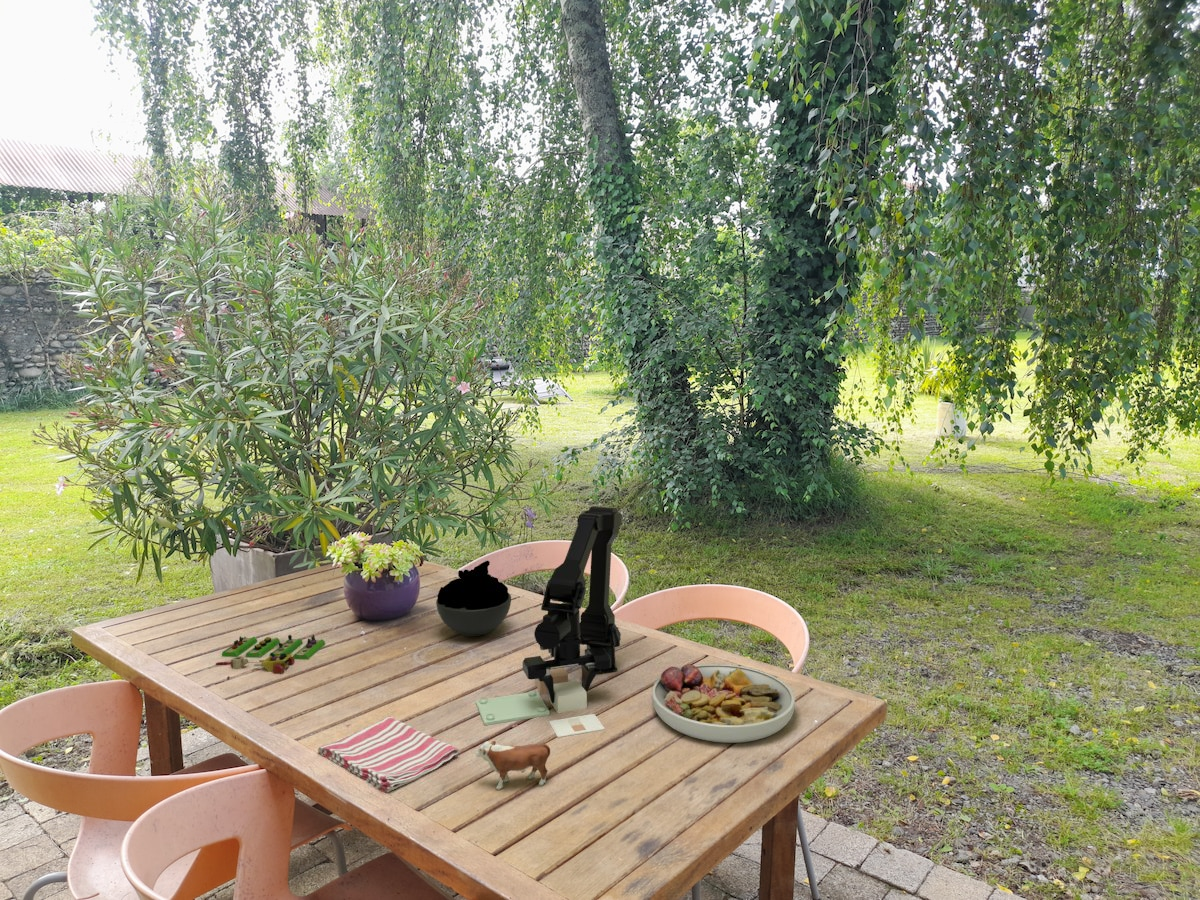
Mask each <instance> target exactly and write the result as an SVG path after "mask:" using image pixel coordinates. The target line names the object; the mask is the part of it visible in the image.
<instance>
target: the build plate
mask: <svg viewBox="0 0 1200 900" xmlns="http://www.w3.org/2000/svg"><path fill="white" fill-rule="evenodd" d="M475 705H476V707H477V710H478V712H479V715H480V717H481V720H482V722H483V725H484V726H490V725H496V724H502V723H509V722H515V721H521V720H522V721H523V720H527V719H528V720H529V719H533V718H540V717H546V716H550V715H551V714H550V713H551V712H550V710H549V708H548V707H547V705H546V703H545V702H544V700H543V698H542V697H541V694H540V693H539V690H538V691H537V690H529V691H527V692H522V693H521V692H520V693H517V694H509V695H504V696H497V697H490V698H486V697H481V698H479V699H477V700H475Z"/></svg>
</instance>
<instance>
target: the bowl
mask: <svg viewBox="0 0 1200 900" xmlns="http://www.w3.org/2000/svg"><path fill="white" fill-rule="evenodd" d="M651 699H652V704H653V708H654V710H655V711H656V713H657V715H658V717H659V718H660V719H661V720H662V721H663V722H664V723H665V724H667V725H668V726H669V727H671V729H674V730H675V731H677V732H679V733H681V734H683V735H685V736H689V737H691V738H694V739H698V740H703V741H707V742H715V743H723V744H724V743H727V744H728V743H729V744H734V743H738V744H739V743H748V742H753V741H758V740H762V739H764V738H765V739H766V738H767V737H770V736H772V735H774V734H776V733H778V732H779V731H781V730H782V729H783V728H785V726H786V725H787V724H788V723H789V722H790V721H791V719H792V716H793V714H794V711H795V707H796V706H795V705H796V703H795V702H796V698H795V694H794V691H793V690H792V689H791V688H790V686H789V685H788V684H786V683H785V682H784V681H782V680H781V679H779V678H778V677H775V676H773V675H771V674H769V673H766V672H764V671H760V670H759V669H758V670H757V669H755V668H750V667H746V666H740V665H733V664H732V665H730V664H717V663H716V664H715V663H714V664H712V663H711V664H697V665H694V664H684V665H683V666H682V667H677V666H670V667H668V668H666V669H665V670H664V671H662V673H661V675H660V677H659V678H658V679H657V680H656V681H655V682H654V684H653V685H652V690H651Z"/></svg>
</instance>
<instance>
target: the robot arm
mask: <svg viewBox="0 0 1200 900" xmlns="http://www.w3.org/2000/svg"><path fill="white" fill-rule="evenodd" d="M622 520H623V519H622V512H619V511H618V509H617V507H609V506H595V505H591V506H590V507H589V509H588V510H582V511H581V513H580V514H579V515H578V517H577V527H576V528H575V531H574V534H573V537H572V539H571V542H570V544H569V547H568V550H567V553H566V555H565V559H564V560H563V563H561V564H560V565H558V566H557V567H555V569H554V571H553V572H552V575H550V576H551V577H550V578H549V579H548V581H547V584H546V588H545V590H544V591H545V592H544V595H543V599H542V604H541V609H540V610H541V611H543V612H544V611H545V612H547V613H545V614H544V615H543V617H542V621H541V622H539V624H537V626H535V629H534V632H533V634H534V639H535V641H536V643H537V644H538V645H539V649H540V651H541V650H542V651H545V650H546V651H547V650H548V654H550V656H551V658H553V659H550V660H549V659H548V660H544V659H543V658H542V656H540V655H537V656H536V655H535V656H529V657H525V658H524V659H523V661H522V671H523V672H524V675H525V676H526V678H527V679H528V680H535V679H538V680H539V681H541V682H542V681H543V682H544V684H545V686H546V689H547V692H548V698H549V697H550V700H551V702H552V703H554V686H553V677H552V676H551V674H550V669H557V668H571V667H579V666H580V667H581V682H580V685H581V686H582V687H583V688H584V689H585V691H586V692H587V693H588V691H589V689H590V686H591V684H592V683H593V681H594V679H595V677H596V676H597V674H605V673H610V672H617V671H618V667H617V666H616V650H615V649H616V648H619V647H620V646H621V637H622V635H621V633H622V632H620V630H619V628H618V627H617V625H616V621H615V620H616V617H615V613H614V611H613V610H612V607H611V606H610V586H611V585H610V582H611V563H612V562H611V561H612V545H613V542H615V539H616V538H617V537H618V535H619V534H620V527H621V526H622ZM590 556H591V557H590ZM589 558H590V577H589V592H588V593H589V595H588V596H589V597H588V605H587V606H586V608H585V610H584V611H582V612H581V614H580V609H582V606H583V603H584V599H585V595H586V591H587V588H586V585H587V584H586V583H587V582H586V579H585V576H584V574H585V573H584V572H585V570H586V567H587V564H588V562H589ZM551 601H552V602H551ZM581 646H586V649H584V655H583V654H582V655H581Z"/></svg>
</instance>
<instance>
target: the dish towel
mask: <svg viewBox="0 0 1200 900" xmlns="http://www.w3.org/2000/svg"><path fill="white" fill-rule="evenodd" d="M459 750H460V749H458V748H457V747H455V746H452V745H451V744H449V743H447V742H444V741H441V740H438V739H436V738H434V737H432V735H428V733H426V732H423V731H419V730H417V729H416V728H414V727H412V726H410V725H409V724H406V723H404V722H402V721H400V720H398V719H395V718H394V716H392V715H390V716H387V717H385V718H383V719H381V720H379V721H378V722H375V723H372V724H370V725H367V726H365V727H364V728H361V729H359V730H356V731H354V732H353V733H351V734H349V735H346V736H343V737H342V738H339V739H338V740H335V741H331V742H330V743H326V744H323V745H321V746H319V747H318V748H317V752H318V753H319V754H320V755H321V756H323V757H324V758H326V759H329V760H330V761H332V762H334V763H335V764H337V765H339V767H340V766H341V767H342V768H345V769H347V771H349V772H351V773H352V774H354V775H356V776H358V777H359V778H361V779H364V782H365V783H367V784H368V785H369V786H373V787H374V788H375V789H377V790H378V789H379V790H380V791H381V792H383V793H389V792H391V791H393V790H395V789H397V788H399V787H402V786H404V785H406V784H409V783H411V782H414V781H417V780H418V779H420V778H421V777H423V776H425V775H426V774H429V773H430V772H433V771H434V770H436V769H438V768H439V767H440V766H441V765H443V764H445V763H446V762H448V761H449V760H451V759H453V758H457V757H458V755H459Z"/></svg>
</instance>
